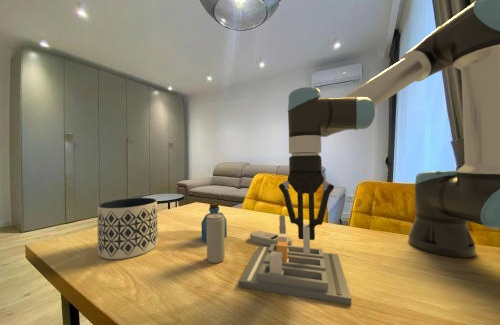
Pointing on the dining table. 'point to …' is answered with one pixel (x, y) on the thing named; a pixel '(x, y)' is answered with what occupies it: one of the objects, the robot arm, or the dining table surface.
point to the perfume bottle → (213, 210)
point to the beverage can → (215, 238)
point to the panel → (299, 275)
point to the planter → (127, 227)
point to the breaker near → (276, 263)
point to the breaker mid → (283, 250)
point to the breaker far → (282, 238)
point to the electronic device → (270, 235)
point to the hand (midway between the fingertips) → (306, 252)
